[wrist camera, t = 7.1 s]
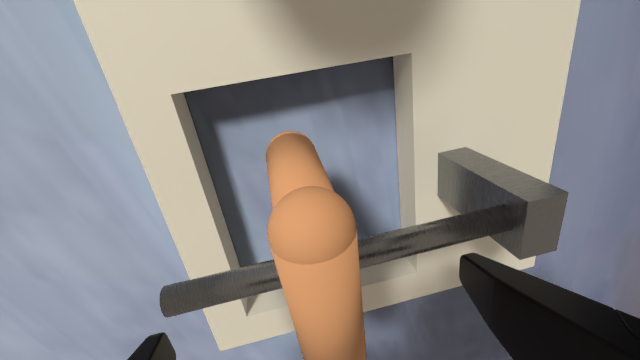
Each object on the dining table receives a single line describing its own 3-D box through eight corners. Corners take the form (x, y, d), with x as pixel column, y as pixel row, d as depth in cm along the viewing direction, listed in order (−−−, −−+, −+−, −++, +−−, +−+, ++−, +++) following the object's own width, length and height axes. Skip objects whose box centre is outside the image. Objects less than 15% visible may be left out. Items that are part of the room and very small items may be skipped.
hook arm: (465, 146, 15) (568, 192, 10) (463, 189, 16) (556, 250, 11) (184, 207, 14) (142, 296, 9) (201, 250, 15) (171, 352, 10)
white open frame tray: (551, -68, 14) (596, -87, 12) (510, 248, 21) (533, 266, 19) (95, -8, 12) (65, -19, 10) (223, 322, 19) (220, 351, 17)
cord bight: (311, 113, 11) (367, 212, 6) (333, 263, 16) (376, 392, 11) (253, 125, 11) (260, 238, 6) (292, 273, 15) (315, 411, 10)
